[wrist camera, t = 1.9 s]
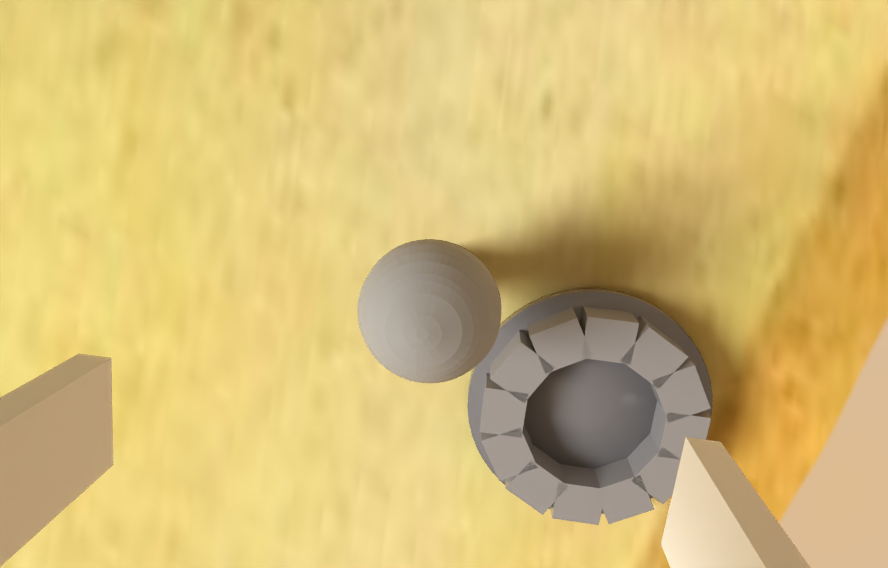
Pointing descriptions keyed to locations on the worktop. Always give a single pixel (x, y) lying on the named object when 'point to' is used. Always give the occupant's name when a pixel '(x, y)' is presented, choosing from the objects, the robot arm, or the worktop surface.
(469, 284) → the light bulb
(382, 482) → the worktop surface
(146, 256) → the worktop surface
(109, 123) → the worktop surface
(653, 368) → the socket
